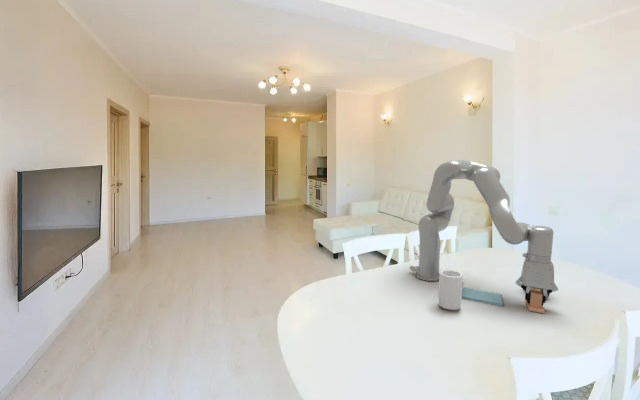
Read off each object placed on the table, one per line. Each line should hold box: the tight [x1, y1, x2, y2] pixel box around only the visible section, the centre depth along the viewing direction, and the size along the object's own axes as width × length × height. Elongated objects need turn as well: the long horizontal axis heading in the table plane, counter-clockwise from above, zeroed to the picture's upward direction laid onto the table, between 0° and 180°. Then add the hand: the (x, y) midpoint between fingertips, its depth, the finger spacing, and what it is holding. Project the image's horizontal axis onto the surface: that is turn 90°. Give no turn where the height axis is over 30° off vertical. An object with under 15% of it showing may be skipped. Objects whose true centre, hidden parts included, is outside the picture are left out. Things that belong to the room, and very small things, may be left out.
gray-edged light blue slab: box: [462, 287, 504, 307], centre depth 128 cm, size 18×13×3 cm
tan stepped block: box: [524, 288, 545, 314], centre depth 118 cm, size 5×10×6 cm, turn 152°
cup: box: [438, 269, 464, 311], centre depth 117 cm, size 8×8×14 cm
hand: (534, 302), depth 118 cm, fingers closed on tan stepped block, 3 cm apart
